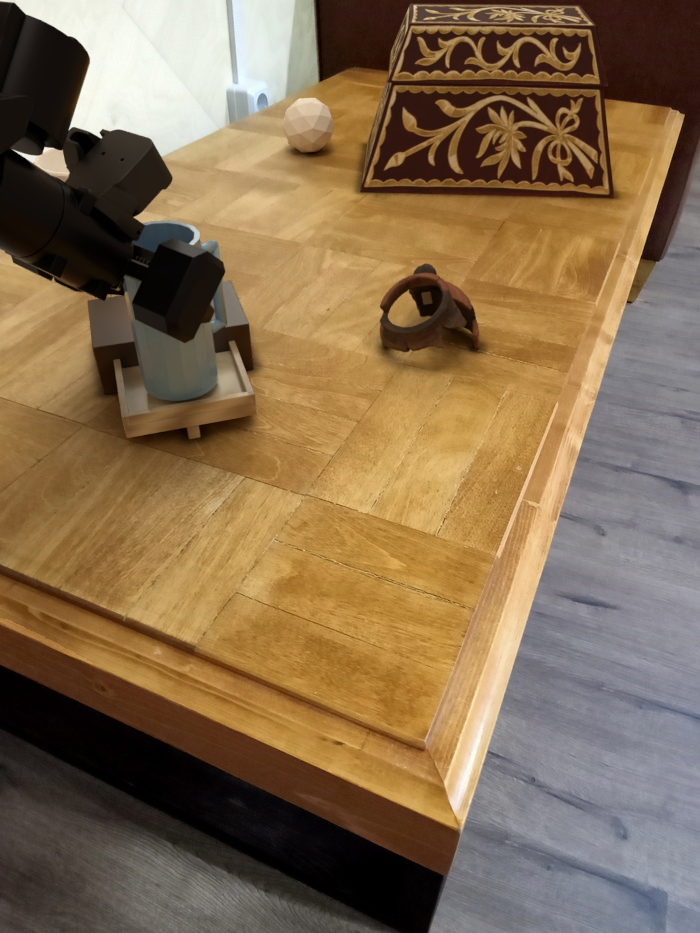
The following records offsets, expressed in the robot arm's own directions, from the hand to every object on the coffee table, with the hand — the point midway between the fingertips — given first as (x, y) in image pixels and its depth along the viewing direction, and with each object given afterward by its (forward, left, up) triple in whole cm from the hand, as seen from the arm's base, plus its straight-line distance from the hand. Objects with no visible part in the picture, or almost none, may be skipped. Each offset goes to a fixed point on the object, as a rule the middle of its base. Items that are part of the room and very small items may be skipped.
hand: (182, 303), depth 64 cm
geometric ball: (+27, +62, -10) cm, 68 cm away
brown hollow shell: (+24, +4, -10) cm, 26 cm away
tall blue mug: (0, 0, -7) cm, 7 cm away
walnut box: (-1, +4, -10) cm, 11 cm away
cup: (-6, +29, -10) cm, 31 cm away
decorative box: (+49, +46, -10) cm, 68 cm away
